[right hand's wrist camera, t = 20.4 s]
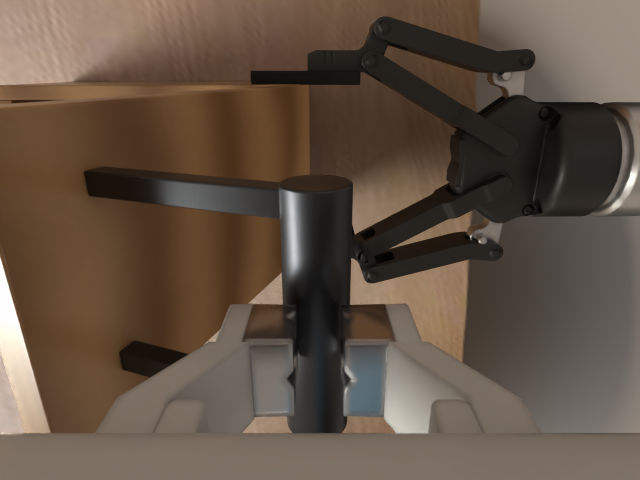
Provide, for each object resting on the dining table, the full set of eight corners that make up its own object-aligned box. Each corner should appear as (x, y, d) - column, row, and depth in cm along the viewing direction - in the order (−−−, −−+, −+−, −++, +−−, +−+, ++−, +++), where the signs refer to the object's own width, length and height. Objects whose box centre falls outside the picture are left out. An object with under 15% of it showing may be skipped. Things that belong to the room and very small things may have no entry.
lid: (33, 462, 13) (304, 574, 10) (-78, 109, 9) (294, 124, 6) (294, 243, 29) (425, 261, 26) (290, 84, 25) (441, 85, 22)
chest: (95, 205, 37) (33, 243, 29) (71, 81, 33) (-7, 85, 25) (304, 203, 37) (303, 240, 29) (302, 81, 34) (300, 84, 25)
